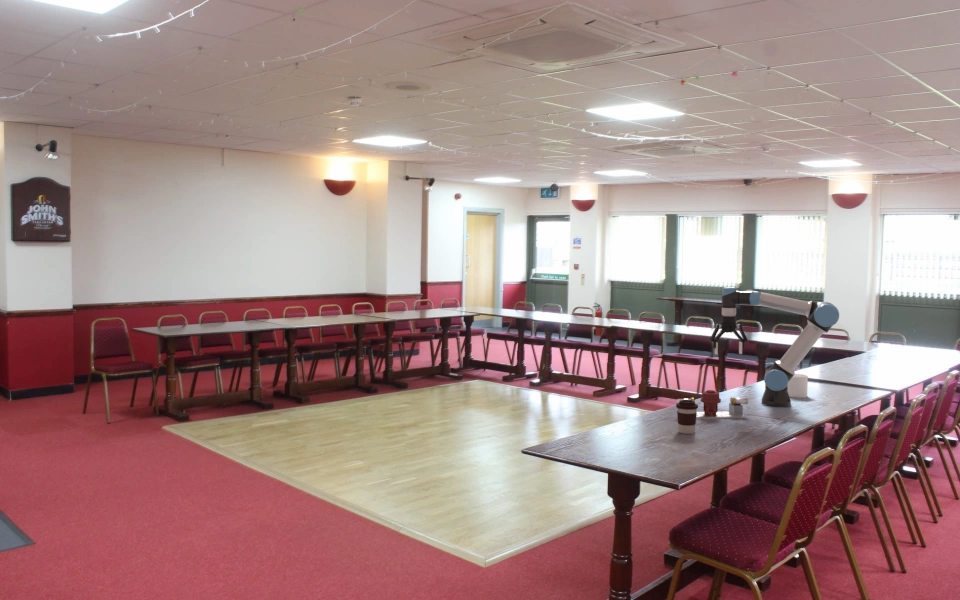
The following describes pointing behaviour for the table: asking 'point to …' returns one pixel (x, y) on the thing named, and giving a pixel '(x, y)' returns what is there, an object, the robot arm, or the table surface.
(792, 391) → the cup
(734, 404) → the shaft bed
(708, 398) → the mechanical component
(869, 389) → the table surface
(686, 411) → the coffee cup
